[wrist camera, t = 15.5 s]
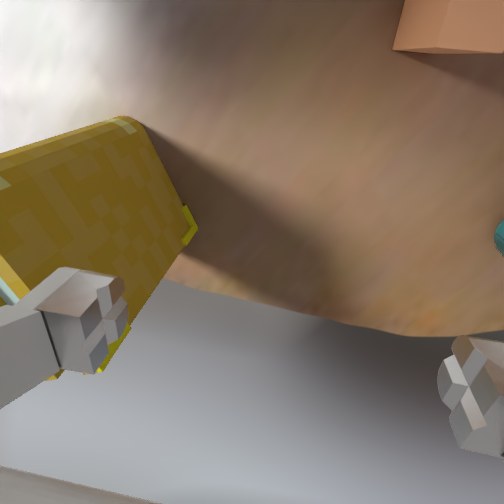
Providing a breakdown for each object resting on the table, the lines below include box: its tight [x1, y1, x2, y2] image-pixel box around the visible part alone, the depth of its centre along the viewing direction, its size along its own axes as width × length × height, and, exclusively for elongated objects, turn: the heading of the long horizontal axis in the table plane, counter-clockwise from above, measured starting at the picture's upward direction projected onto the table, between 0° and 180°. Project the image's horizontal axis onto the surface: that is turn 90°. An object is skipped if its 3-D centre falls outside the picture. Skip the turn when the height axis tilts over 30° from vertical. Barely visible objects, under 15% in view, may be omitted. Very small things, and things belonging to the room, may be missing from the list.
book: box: [0, 116, 198, 381], centre depth 34 cm, size 17×7×25 cm, turn 21°
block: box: [392, 0, 504, 54], centre depth 25 cm, size 5×4×14 cm
